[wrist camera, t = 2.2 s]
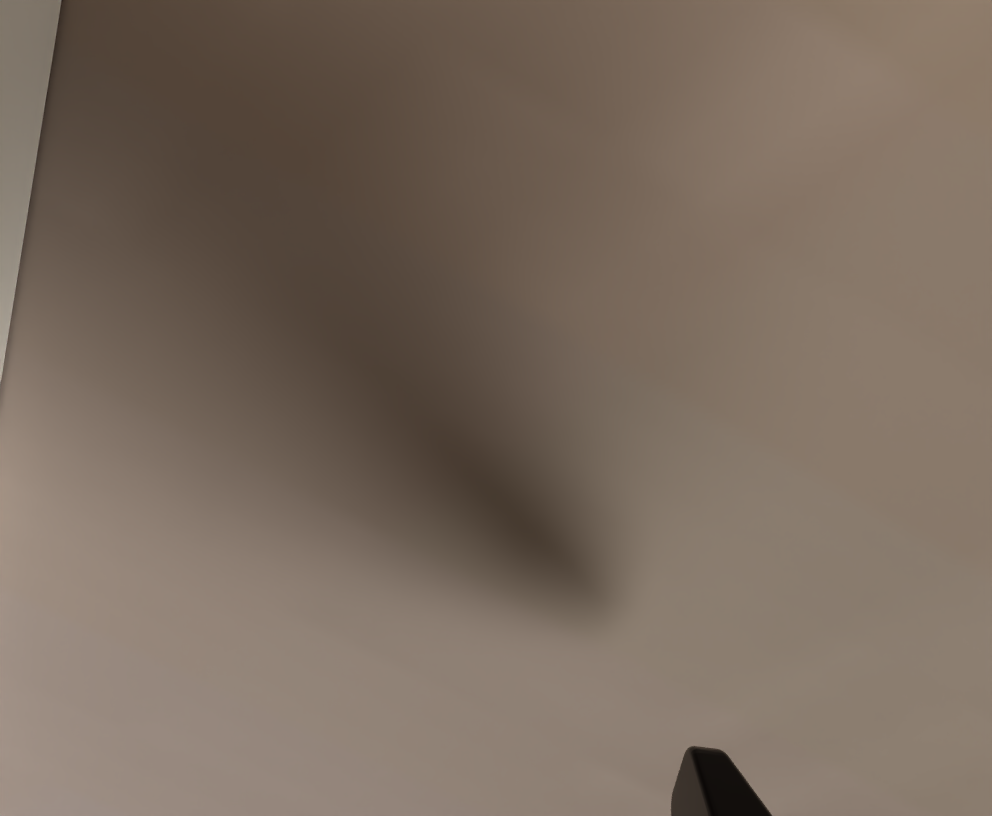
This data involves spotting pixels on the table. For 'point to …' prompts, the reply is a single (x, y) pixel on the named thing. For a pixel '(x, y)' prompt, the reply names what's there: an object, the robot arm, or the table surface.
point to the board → (20, 128)
